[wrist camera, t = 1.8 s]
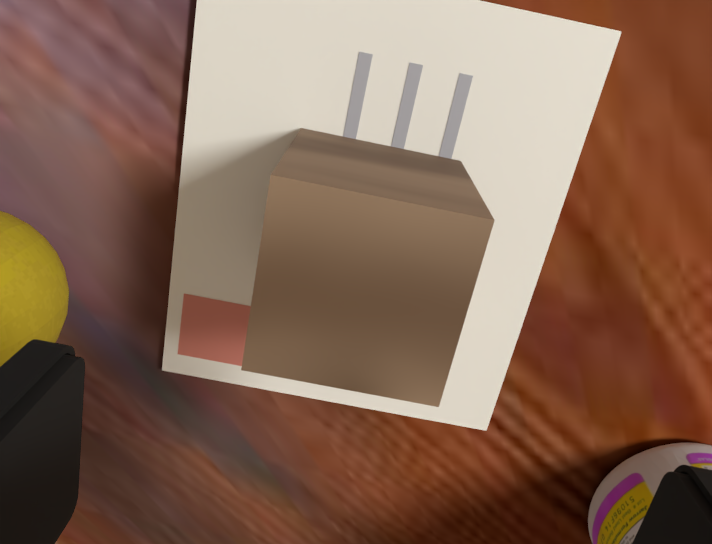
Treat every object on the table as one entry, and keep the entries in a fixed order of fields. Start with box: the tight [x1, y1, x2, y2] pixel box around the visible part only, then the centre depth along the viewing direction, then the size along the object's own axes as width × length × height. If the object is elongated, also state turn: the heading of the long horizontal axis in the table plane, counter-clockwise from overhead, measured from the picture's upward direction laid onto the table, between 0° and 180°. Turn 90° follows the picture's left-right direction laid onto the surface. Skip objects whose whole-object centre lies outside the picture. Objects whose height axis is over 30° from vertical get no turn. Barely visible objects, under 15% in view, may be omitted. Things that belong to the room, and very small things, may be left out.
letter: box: [162, 0, 621, 431], centre depth 20 cm, size 14×12×1 cm
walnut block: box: [241, 128, 495, 407], centre depth 18 cm, size 5×5×6 cm
